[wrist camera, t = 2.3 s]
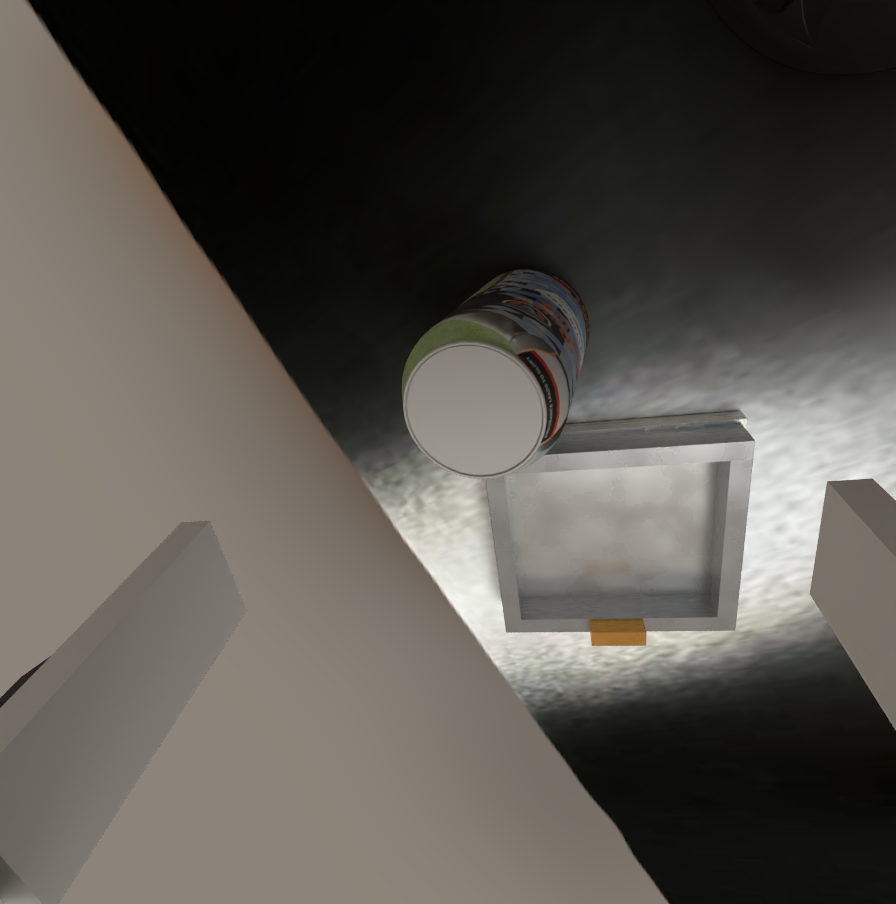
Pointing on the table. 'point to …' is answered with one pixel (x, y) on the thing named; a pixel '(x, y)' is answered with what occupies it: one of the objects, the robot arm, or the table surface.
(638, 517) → the tray
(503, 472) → the beverage can
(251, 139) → the table surface
